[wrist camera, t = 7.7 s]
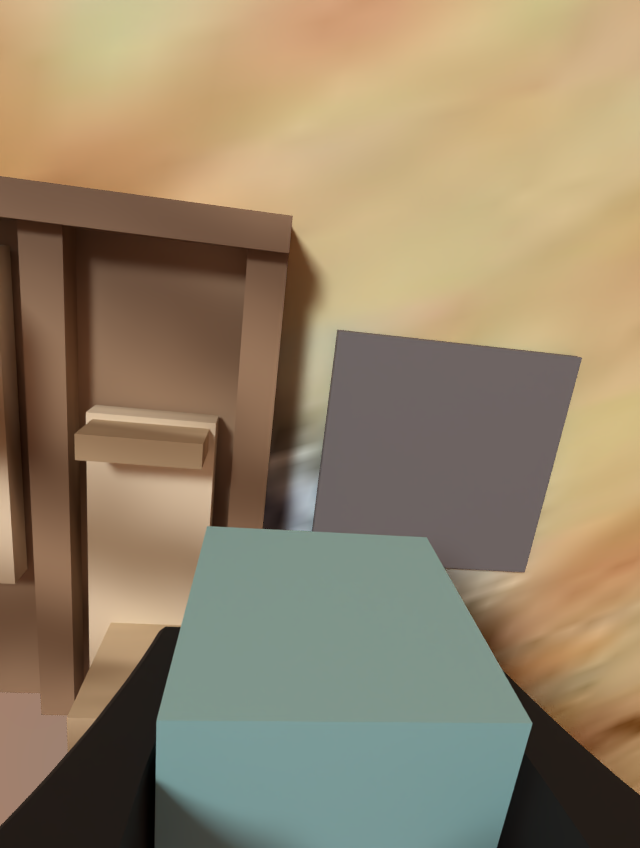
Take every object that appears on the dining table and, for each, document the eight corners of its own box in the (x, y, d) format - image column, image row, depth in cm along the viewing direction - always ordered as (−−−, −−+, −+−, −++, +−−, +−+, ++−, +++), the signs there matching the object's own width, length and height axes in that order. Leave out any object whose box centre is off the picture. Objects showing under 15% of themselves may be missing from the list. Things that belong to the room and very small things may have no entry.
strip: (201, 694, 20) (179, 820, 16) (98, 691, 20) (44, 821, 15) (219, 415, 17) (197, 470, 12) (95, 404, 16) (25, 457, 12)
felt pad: (520, 566, 21) (524, 572, 21) (309, 554, 20) (309, 560, 20) (575, 356, 19) (582, 357, 18) (337, 329, 18) (338, 331, 17)
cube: (394, 708, 12) (464, 960, 7) (199, 706, 11) (152, 976, 7) (426, 537, 10) (532, 723, 6) (206, 526, 10) (156, 720, 6)
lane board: (247, 679, 22) (243, 729, 19) (-106, 669, 20) (-157, 723, 18) (289, 223, 17) (292, 215, 14) (-182, 160, 15) (-268, 139, 12)
